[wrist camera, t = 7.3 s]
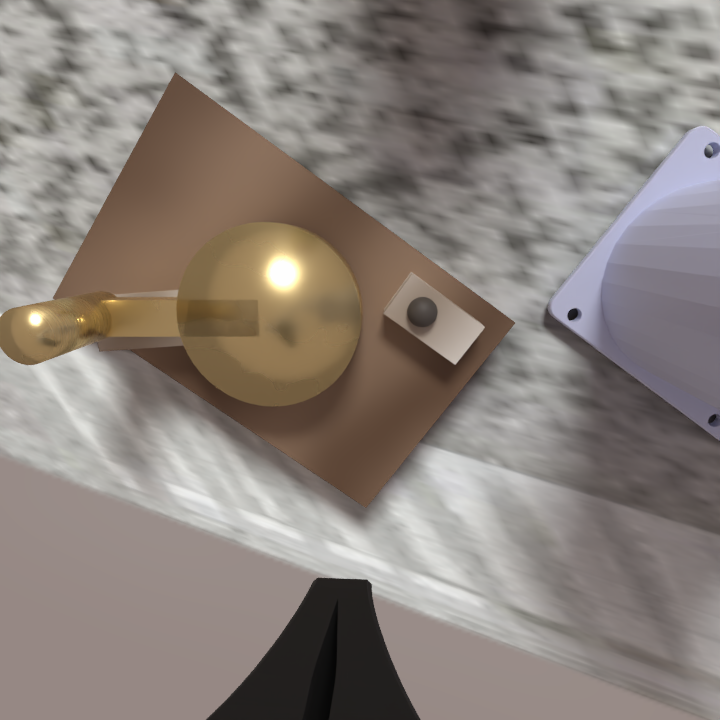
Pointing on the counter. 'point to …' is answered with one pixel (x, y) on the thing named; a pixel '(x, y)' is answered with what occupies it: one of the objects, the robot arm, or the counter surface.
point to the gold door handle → (224, 315)
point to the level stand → (334, 224)
